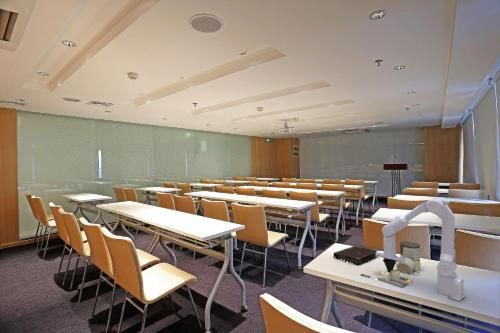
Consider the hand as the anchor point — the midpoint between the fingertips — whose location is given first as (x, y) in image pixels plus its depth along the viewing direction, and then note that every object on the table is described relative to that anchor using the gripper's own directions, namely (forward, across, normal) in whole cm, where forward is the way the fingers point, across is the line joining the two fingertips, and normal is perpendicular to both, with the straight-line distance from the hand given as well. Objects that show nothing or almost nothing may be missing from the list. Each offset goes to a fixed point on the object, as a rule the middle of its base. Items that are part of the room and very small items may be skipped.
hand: (390, 273), depth 137 cm
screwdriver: (+3, +6, +9) cm, 11 cm away
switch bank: (+3, -4, +3) cm, 6 cm away
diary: (+4, +30, -16) cm, 34 cm away
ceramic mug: (+3, -2, -16) cm, 16 cm away
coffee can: (+3, +1, -26) cm, 26 cm away
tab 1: (+2, -1, +6) cm, 6 cm away
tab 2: (+2, -3, 0) cm, 3 cm away
